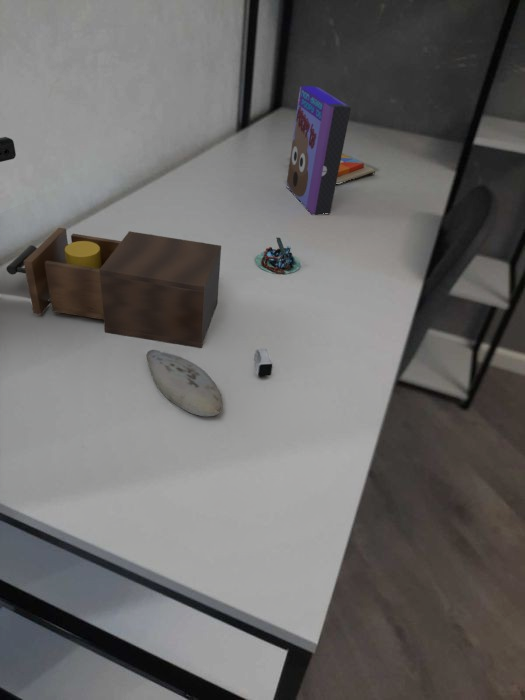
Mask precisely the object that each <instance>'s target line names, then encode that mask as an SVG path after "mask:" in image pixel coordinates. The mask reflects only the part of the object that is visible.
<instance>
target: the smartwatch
mask: <svg viewBox="0 0 525 700" xmlns="http://www.w3.org/2000/svg"><path fill="white" fill-rule="evenodd" d="M253 356H254V357H253V361H254V362H255V363H254V365H255V371H256V375H257V376H258V377H269V376H271V375H272V372H273V369H274V364H273V362H272V360H271V356H270V353H269V351H268V349H267V348H257V349H256V350H255V351H254V355H253Z"/></svg>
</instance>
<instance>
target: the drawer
mask: <svg viewBox="0 0 525 700" xmlns="http://www.w3.org/2000/svg"><path fill="white" fill-rule="evenodd" d="M70 239H71V240H70V241H71V243H73V242H78V241H89V242H93V243H95V244H97V245H98V246H99V247H100V255H101V266H103V264H104V263H105V262H106V261H107V259H108V258H109V257H110V255H111V254H112V253H113V252H114V250H115V249H116V248H117V246H118V245H119V244H120V242H121V241H122V240H116V239H110V238H104V237H97V236H92V235H91V236H90V235H85V234H79V233H72V234H71V235H70ZM68 244H69V241H68V235H67V228H65V227H58V228H56V230H55V231H53V233H51V235H49V236H48V237H47V238H46V239H45V240H44V241H43V242H42V243H41V244H40V245H38V247H36V246H35V245H29V246H28V247H26V248H25V249H24V250H23V251H22V252H21V253H20V254H19V255H18V256H16V258H15V259H13V260H12V261H11V262H10V263H9V264H8V265H7V266H6V272H7V273H8V274H10V275H11V276H12V275H17V273H20V274H25V277H26V280H27V281H26V282H27V287H28V292H29V296H30V297H29V298H30V302H31V307H32V312H33V314H36V315H42V314H43V313H44V311H46V309H47V308H48V307H49V306H50V305H51V311H52V312H54V313H62V314H67V315H73V316H78V317H79V316H80V317H86V318H92V319H98V320H104V313H103V303H102V292H101V281H100V271H99V270H100V269H96V268H90V267H84V266H77V265H71V264H67V263H66V256H65V247H66V246H67V245H68Z"/></svg>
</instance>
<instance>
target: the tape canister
mask: <svg viewBox="0 0 525 700" xmlns="http://www.w3.org/2000/svg"><path fill="white" fill-rule="evenodd" d="M65 256H66V263H67V264H71V265H77V266H84V267H90V268H96V269H100V268H101V267H102V266H101V255H100V247H99V246H98V245H97V244H95V243H93V242H89V241H78V242H73V243H72V242H71V243H68V245H67V246H66V247H65Z"/></svg>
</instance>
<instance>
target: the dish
mask: <svg viewBox="0 0 525 700" xmlns="http://www.w3.org/2000/svg"><path fill="white" fill-rule="evenodd" d="M276 243H277V245H278V248H273V247H272V246H269V247H267V248H265V250H263V251H262V252H260V253H259V254H257V255H256V257H255V258H254V263H255V264H256V266H258V267H259V269H261V270H264V271H266V272H268V273H271V274H275V275H279V274H283V275H285V274H286V275H287V274H290V273H295V272H297V271H298V270H299V269H300V268H301V261H300V259H299V258H298V257H297V256H295V255H293V253H292V251H291V249H292V248H291V246H290V245H286V247H285V246H284V244H283V241H282V239H281V237H278V236H277V237H276Z"/></svg>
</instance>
